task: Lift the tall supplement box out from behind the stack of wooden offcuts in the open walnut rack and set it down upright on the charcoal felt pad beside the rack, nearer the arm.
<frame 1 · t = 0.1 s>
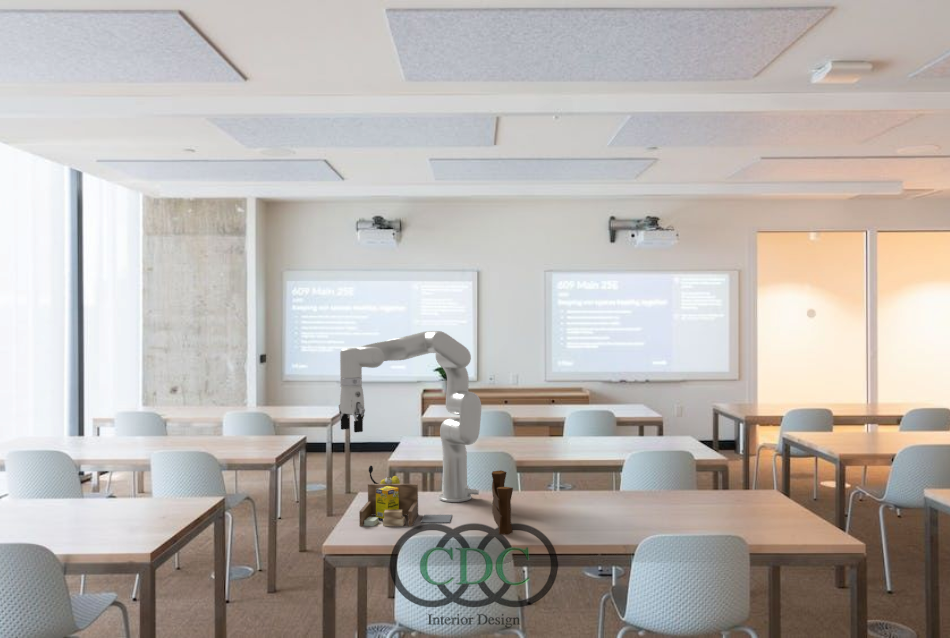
hand: (351, 430, 268), 31 cm above the table, tool pointing down, fingers open, 9 cm apart
offcut c: (371, 524, 259), on the table
offcut a: (394, 525, 259), on the table, touching offcut b
rack: (389, 520, 264), on the table
offcut b: (393, 518, 258), point 2 cm above the table, touching offcut a
pad: (436, 519, 264), on the table
decorative fence: (502, 523, 259), on the table
toy: (387, 503, 290), on the table
supplement box: (387, 519, 266), resting in rack
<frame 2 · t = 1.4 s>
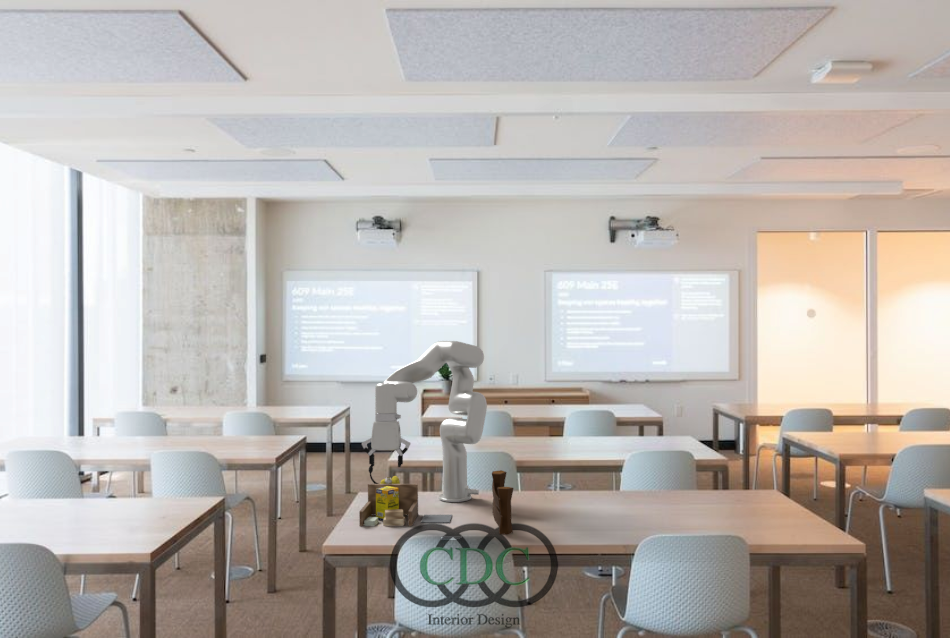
hand: (386, 466, 265), 19 cm above the table, tool pointing down, fingers open, 9 cm apart
nothing on the table moved.
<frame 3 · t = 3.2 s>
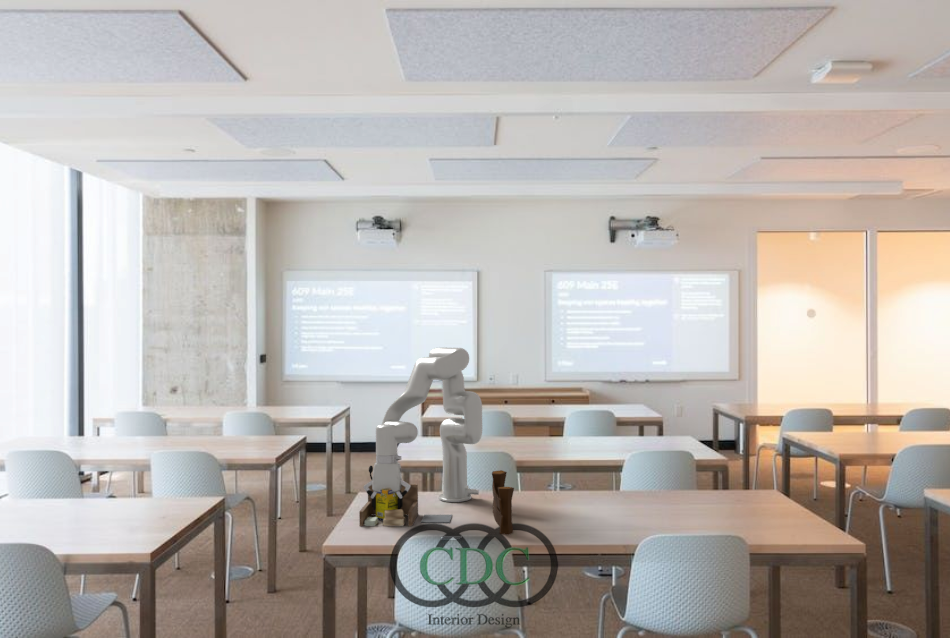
hand: (387, 508, 266), 4 cm above the table, tool pointing down, fingers closed on supplement box, 8 cm apart
offcut a: (394, 525, 259), on the table
offcut b: (393, 518, 259), point 2 cm above the table
supplement box: (387, 519, 266), resting in rack, touching gripper
everything else where it was.
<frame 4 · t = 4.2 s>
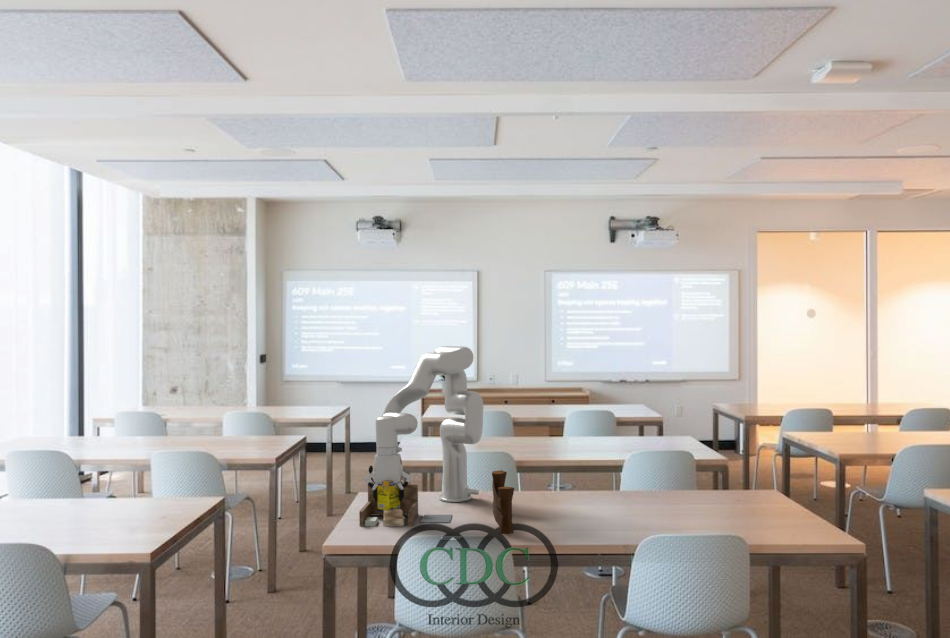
hand: (388, 500, 266), 6 cm above the table, tool pointing down, fingers closed on supplement box, 8 cm apart
offcut a: (394, 525, 259), on the table, touching offcut b
offcut b: (393, 518, 259), point 2 cm above the table, touching offcut a
supplement box: (389, 510, 266), point 3 cm above the table, touching gripper
everything else where it was.
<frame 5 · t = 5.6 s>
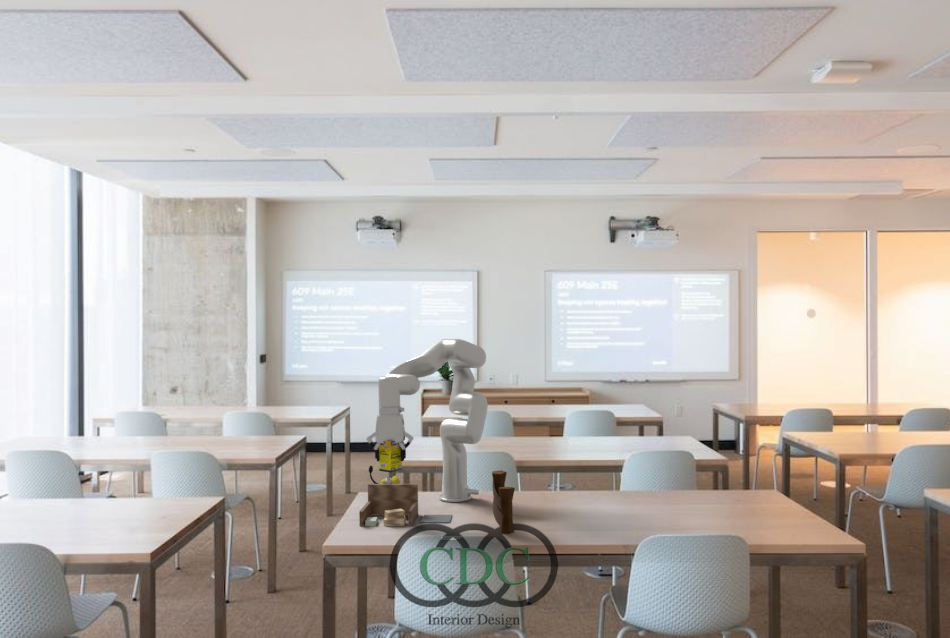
hand: (390, 460, 266), 21 cm above the table, tool pointing down, fingers closed on supplement box, 8 cm apart
supplement box: (390, 471, 266), point 17 cm above the table, touching gripper
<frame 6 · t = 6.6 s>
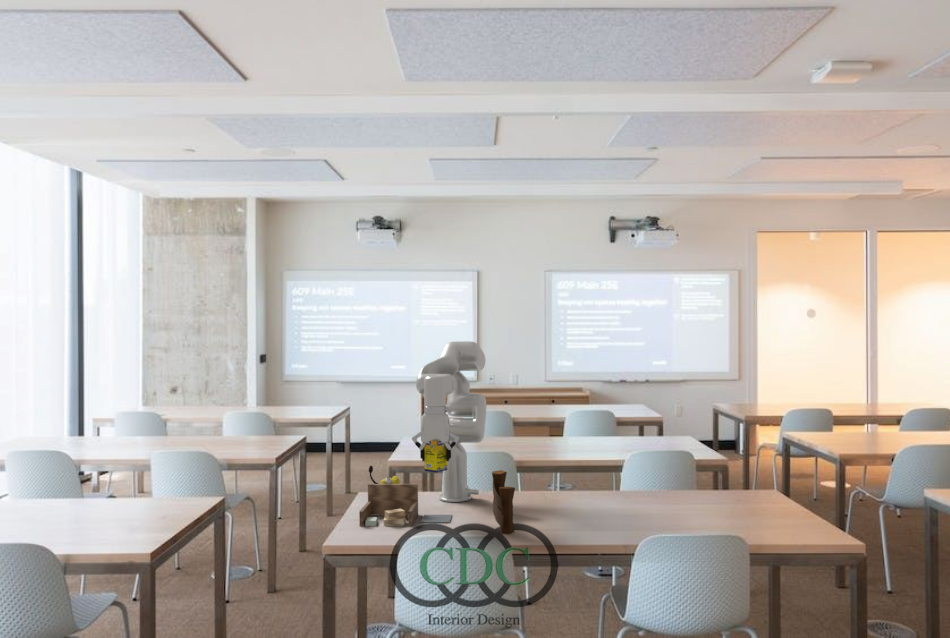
hand: (435, 460, 264), 21 cm above the table, tool pointing down, fingers closed on supplement box, 8 cm apart
supplement box: (436, 471, 264), point 17 cm above the table, touching gripper
everything else where it was.
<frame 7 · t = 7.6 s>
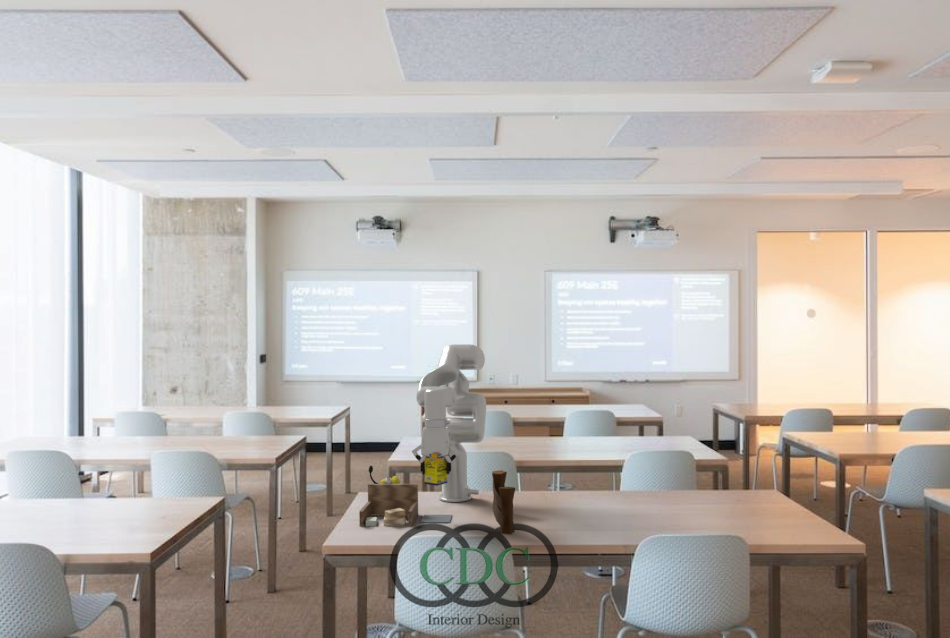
hand: (436, 473, 264), 16 cm above the table, tool pointing down, fingers closed on supplement box, 8 cm apart
supplement box: (436, 484, 264), point 12 cm above the table, touching gripper
everything else where it was.
when the fingers open (5 cm above the table, at t = 10.1 s): supplement box stays where it is, resting on pad.
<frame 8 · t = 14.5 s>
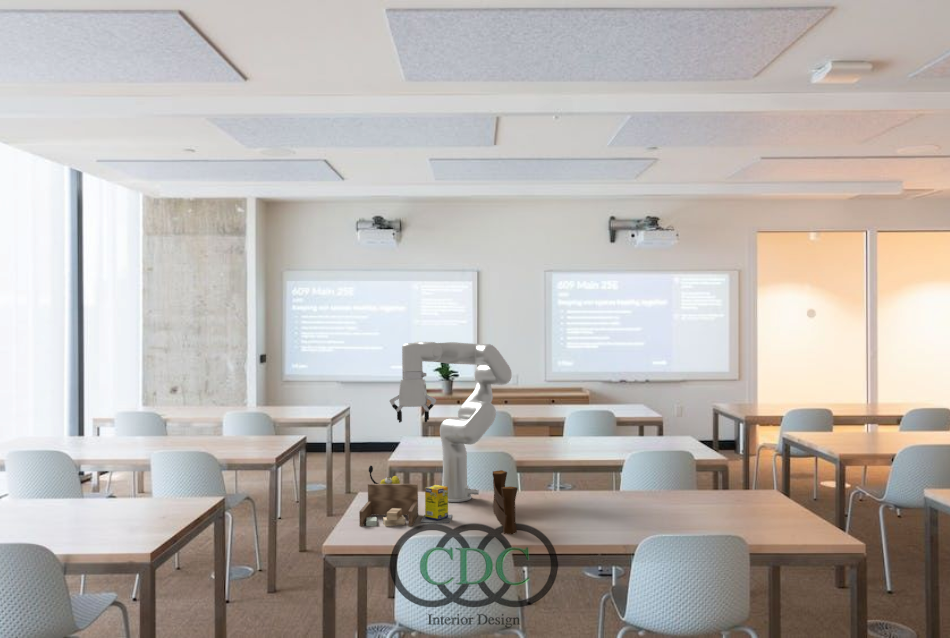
hand: (413, 422, 280), 32 cm above the table, tool pointing down, fingers open, 9 cm apart
offcut a: (394, 525, 259), on the table
offcut b: (394, 517, 259), point 2 cm above the table
supplement box: (436, 518, 264), resting on pad
everything else where it was.
at the end: supplement box inside the target area on the pad (0.1 cm from its centre), point 0.2 cm above the pad's base; supplement box tilted 0°; the gripper is holding nothing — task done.
